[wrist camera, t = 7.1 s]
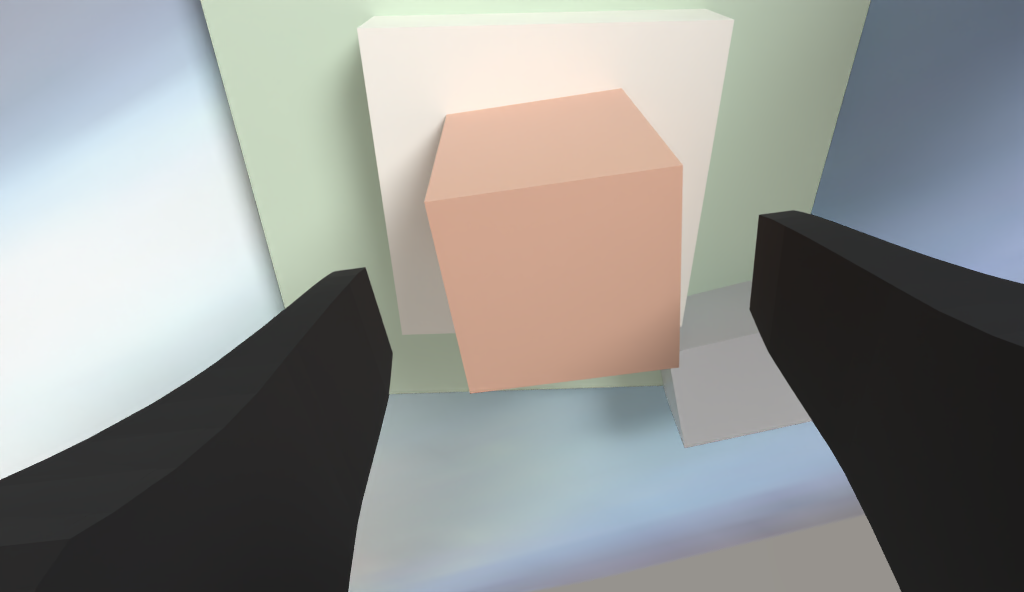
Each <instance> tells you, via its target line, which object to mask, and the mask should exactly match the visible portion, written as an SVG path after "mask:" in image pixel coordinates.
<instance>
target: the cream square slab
mask: <svg viewBox="0 0 1024 592" xmlns="http://www.w3.org/2000/svg"><path fill="white" fill-rule="evenodd" d="M733 25H734V19H731V18H729V17H726V16H723V15H721V14H718V13H716V12H713V11H710V10H708V9H667V10H623V11H579V12H534V13H490V14H446V15H402V16H373V17H372V18H370V19H369V20H368V21H366V22H365V23H364V24H362V25H361V26H359V27H358V28H357V33H358V39H359V46H360V53H361V60H362V66H363V73H364V80H365V87H366V93H367V100H368V107H369V114H370V120H371V127H372V134H373V141H374V148H375V154H376V161H377V168H378V175H379V181H380V188H381V195H382V202H383V208H384V215H385V222H386V229H387V235H388V242H389V249H390V256H391V263H392V269H393V276H394V283H395V290H396V296H397V303H398V310H399V317H400V323H401V330H402V335H412V334H446V333H455V329H454V324H453V320H452V316H451V312H450V308H449V304H448V299H447V295H446V291H445V287H444V283H443V279H442V275H441V270H440V266H439V262H438V258H437V254H436V250H435V245H434V241H433V237H432V233H431V229H430V225H429V220H428V216H427V212H426V208H425V204H424V201H425V197H426V193H427V189H428V185H429V181H430V177H431V173H432V169H433V166H434V162H435V158H436V154H437V150H438V146H439V142H440V138H441V134H442V130H443V126H444V123H445V119H446V115H448V114H454V113H461V112H468V111H474V110H481V109H487V108H494V107H501V106H507V105H514V104H520V103H527V102H534V101H540V100H547V99H554V98H560V97H567V96H573V95H580V94H587V93H593V92H600V91H606V90H613V89H620V88H622V89H623V90H624V92H625V93H626V94H627V95H628V97H629V98H630V99H631V100H632V102H633V103H634V104H635V106H636V107H637V108H638V109H639V111H640V112H641V113H642V114H643V116H644V117H645V118H646V119H647V121H648V122H649V123H650V124H651V126H652V127H653V128H654V129H655V131H656V132H657V133H658V134H659V136H660V137H661V138H662V139H663V141H664V142H665V143H666V145H667V146H668V147H669V148H670V150H671V151H672V152H673V153H674V155H675V156H676V157H677V158H678V160H679V161H680V162H681V163H682V165H683V187H682V242H681V296H680V327H682V322H683V316H684V311H685V305H686V299H687V293H688V287H689V281H690V276H691V270H692V264H693V258H694V252H695V246H696V241H697V235H698V229H699V223H700V217H701V211H702V206H703V200H704V194H705V188H706V182H707V176H708V171H709V165H710V159H711V153H712V147H713V141H714V136H715V130H716V124H717V118H718V112H719V106H720V101H721V95H722V89H723V83H724V77H725V71H726V66H727V60H728V54H729V48H730V42H731V36H732V31H733Z"/></svg>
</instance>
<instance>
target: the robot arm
mask: <svg viewBox="0 0 1024 592" xmlns="http://www.w3.org/2000/svg"><path fill="white" fill-rule="evenodd" d="M749 310H750V312H751V314H752V317H753V319H754V321H755V324H756V326H757V329H758V331H759V333H760V335H761V338H762V340H763V342H764V344H765V346H766V348H767V350H768V353H769V354H770V356H771V357H772V359H773V361H774V362H775V364H776V366H777V367H778V369H779V370H780V372H781V373H782V375H783V377H784V378H785V380H786V381H787V383H788V384H789V386H790V388H791V389H792V391H793V392H794V394H795V395H796V397H797V398H798V400H799V401H800V403H801V404H802V406H803V407H804V409H805V411H806V412H807V414H808V415H809V417H810V418H811V420H812V421H813V423H814V424H815V426H816V427H817V429H818V430H819V432H820V434H821V435H822V437H823V438H824V440H825V441H826V443H827V444H828V446H829V447H830V449H831V451H832V452H833V454H834V456H835V457H836V459H837V461H838V463H839V464H840V466H841V468H842V469H843V471H844V473H845V475H846V477H847V479H848V481H849V483H850V485H851V487H852V489H853V491H854V493H855V495H856V497H857V499H858V501H859V503H860V505H861V507H862V509H863V511H864V513H865V515H866V517H867V519H868V520H869V523H870V525H871V527H872V529H873V531H874V533H875V535H876V538H877V540H878V542H879V544H880V546H881V548H882V550H883V552H884V555H885V557H886V559H887V561H888V563H889V565H890V567H891V570H892V572H893V574H894V576H895V578H896V580H897V583H898V585H899V587H900V590H901V592H1024V284H1021V283H1017V282H1013V281H1009V280H1005V279H1001V278H998V277H994V276H991V275H987V274H984V273H980V272H977V271H973V270H970V269H967V268H964V267H961V266H957V265H954V264H951V263H948V262H945V261H942V260H938V259H935V258H932V257H929V256H926V255H923V254H920V253H917V252H915V251H912V250H909V249H906V248H903V247H900V246H897V245H895V244H892V243H889V242H886V241H884V240H881V239H878V238H876V237H873V236H870V235H867V234H865V233H862V232H859V231H857V230H854V229H851V228H849V227H846V226H843V225H840V224H838V223H835V222H832V221H829V220H826V219H824V218H821V217H818V216H814V215H811V214H808V213H804V212H800V211H796V210H791V211H783V212H776V213H768V214H761V215H759V218H758V228H757V238H756V248H755V258H754V268H753V278H752V288H751V297H750V307H749ZM392 359H393V352H392V349H391V346H390V343H389V339H388V336H387V333H386V330H385V327H384V324H383V321H382V317H381V314H380V311H379V308H378V305H377V302H376V298H375V295H374V292H373V289H372V286H371V283H370V280H369V276H368V273H367V270H366V267H362V268H355V269H347V270H340V271H334V272H332V273H330V274H329V275H327V276H326V277H324V278H323V279H321V280H320V281H319V282H317V283H316V284H315V285H314V286H312V287H311V288H310V289H309V290H307V291H306V292H305V293H304V294H302V295H301V296H300V297H299V298H298V299H296V300H295V301H294V302H293V303H292V304H290V305H289V306H288V307H287V308H285V309H284V310H283V311H282V312H281V313H279V314H278V315H277V316H276V317H274V318H273V319H272V320H271V321H270V322H268V323H267V324H266V325H265V326H263V327H262V328H261V329H260V330H258V331H257V332H256V333H254V334H253V335H252V336H250V337H249V338H248V339H246V340H245V341H244V342H242V343H241V344H240V345H238V346H237V347H236V348H235V349H233V350H232V351H231V352H229V353H228V354H227V355H225V356H224V357H223V358H221V359H220V360H219V361H217V362H216V363H214V364H213V365H212V366H210V367H209V368H207V369H206V370H204V371H203V372H201V373H200V374H198V375H197V376H195V377H194V378H192V379H191V380H189V381H188V382H186V383H185V384H183V385H181V386H180V387H178V388H177V389H175V390H174V391H172V392H170V393H169V394H167V395H166V396H164V397H162V398H161V399H159V400H157V401H156V402H154V403H152V404H151V405H149V406H147V407H145V408H143V409H142V410H140V411H138V412H136V413H134V414H132V415H131V416H129V417H127V418H125V419H123V420H121V421H120V422H118V423H116V424H114V425H112V426H110V427H109V428H107V429H105V430H103V431H101V432H99V433H98V434H96V435H94V436H92V437H90V438H88V439H86V440H84V441H82V442H80V443H78V444H76V445H74V446H72V447H70V448H68V449H66V450H64V451H62V452H60V453H58V454H56V455H54V456H52V457H50V458H47V459H45V460H43V461H41V462H39V463H37V464H34V465H32V466H30V467H28V468H26V469H23V470H21V471H19V472H17V473H14V474H12V475H10V476H8V477H6V478H3V479H1V480H0V592H348V588H349V580H350V573H351V566H352V559H353V552H354V545H355V538H356V531H357V524H358V519H359V515H360V510H361V505H362V500H363V496H364V493H365V489H366V485H367V481H368V477H369V473H370V469H371V466H372V462H373V458H374V454H375V450H376V446H377V442H378V439H379V435H380V431H381V427H382V423H383V419H384V415H385V411H386V406H387V402H388V398H389V389H390V381H391V370H392Z"/></svg>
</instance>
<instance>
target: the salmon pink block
mask: <svg viewBox="0 0 1024 592" xmlns="http://www.w3.org/2000/svg"><path fill="white" fill-rule="evenodd" d="M682 187H683V165H682V163H681V162H680V161H679V160H678V158H677V157H676V156H675V155H674V153H673V152H672V151H671V150H670V148H669V147H668V146H667V145H666V143H665V142H664V141H663V139H662V138H661V137H660V136H659V134H658V133H657V132H656V131H655V129H654V128H653V127H652V126H651V124H650V123H649V122H648V121H647V119H646V118H645V117H644V116H643V114H642V113H641V112H640V111H639V109H638V108H637V107H636V106H635V104H634V103H633V102H632V100H631V99H630V98H629V97H628V95H627V94H626V93H625V92H624V90H623V89H622V88H620V89H613V90H606V91H600V92H593V93H587V94H580V95H573V96H567V97H560V98H554V99H547V100H540V101H534V102H527V103H520V104H514V105H507V106H501V107H494V108H487V109H481V110H474V111H468V112H461V113H454V114H448V115H446V119H445V123H444V126H443V130H442V134H441V138H440V142H439V146H438V150H437V154H436V158H435V162H434V166H433V169H432V173H431V177H430V181H429V185H428V189H427V193H426V197H425V201H424V204H425V208H426V212H427V216H428V220H429V225H430V229H431V233H432V237H433V241H434V245H435V250H436V254H437V258H438V262H439V266H440V270H441V275H442V279H443V283H444V287H445V291H446V295H447V299H448V304H449V308H450V312H451V316H452V320H453V324H454V329H455V333H456V337H457V341H458V345H459V349H460V354H461V358H462V362H463V366H464V370H465V374H466V378H467V383H468V387H469V391H470V394H471V393H479V392H487V391H495V390H503V389H511V388H519V387H527V386H535V385H543V384H551V383H559V382H567V381H575V380H583V379H591V378H599V377H607V376H615V375H623V374H631V373H639V372H647V371H655V370H663V369H671V368H679V351H680V296H681V242H682Z"/></svg>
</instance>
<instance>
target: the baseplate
mask: <svg viewBox="0 0 1024 592" xmlns="http://www.w3.org/2000/svg"><path fill="white" fill-rule="evenodd" d="M870 2H871V0H201V4H202V8H203V11H204V15H205V19H206V22H207V26H208V30H209V33H210V37H211V41H212V44H213V48H214V51H215V55H216V59H217V62H218V66H219V70H220V73H221V77H222V81H223V84H224V88H225V92H226V95H227V99H228V103H229V106H230V110H231V114H232V117H233V121H234V124H235V128H236V132H237V135H238V139H239V143H240V146H241V150H242V154H243V157H244V161H245V165H246V168H247V172H248V176H249V179H250V183H251V186H252V190H253V194H254V197H255V201H256V205H257V208H258V212H259V216H260V219H261V223H262V227H263V230H264V234H265V238H266V241H267V245H268V248H269V252H270V256H271V259H272V263H273V267H274V270H275V274H276V278H277V281H278V285H279V289H280V292H281V296H282V300H283V303H284V307H285V308H287V307H288V306H289V305H290V304H292V303H293V302H294V301H295V300H296V299H298V298H299V297H300V296H301V295H302V294H304V293H305V292H306V291H307V290H309V289H310V288H311V287H312V286H314V285H315V284H316V283H317V282H319V281H320V280H321V279H323V278H324V277H326V276H327V275H329V274H330V273H332V272H334V271H340V270H347V269H355V268H362V267H366V270H367V273H368V276H369V280H370V283H371V286H372V289H373V292H374V295H375V298H376V302H377V305H378V308H379V311H380V314H381V317H382V321H383V324H384V327H385V330H386V333H387V336H388V339H389V343H390V346H391V349H392V352H393V359H392V370H391V381H390V389H389V394H408V393H440V392H470V391H469V387H468V383H467V378H466V374H465V370H464V366H463V362H462V358H461V354H460V349H459V345H458V341H457V337H456V333H446V334H412V335H402V330H401V323H400V317H399V310H398V303H397V296H396V290H395V283H394V276H393V269H392V263H391V256H390V249H389V242H388V235H387V229H386V222H385V215H384V208H383V202H382V195H381V188H380V181H379V175H378V168H377V161H376V154H375V148H374V141H373V134H372V127H371V120H370V114H369V107H368V100H367V93H366V87H365V80H364V73H363V66H362V60H361V53H360V46H359V39H358V33H357V28H358V27H359V26H361V25H362V24H364V23H365V22H366V21H368V20H369V19H370V18H372V17H373V16H402V15H446V14H490V13H534V12H579V11H623V10H667V9H708V10H710V11H713V12H716V13H718V14H721V15H723V16H726V17H729V18H731V19H734V25H733V31H732V36H731V42H730V48H729V54H728V60H727V66H726V71H725V77H724V83H723V89H722V95H721V101H720V106H719V112H718V118H717V124H716V130H715V136H714V141H713V147H712V153H711V159H710V165H709V171H708V176H707V182H706V188H705V194H704V200H703V206H702V211H701V217H700V223H699V229H698V235H697V241H696V246H695V252H694V258H693V264H692V270H691V276H690V281H689V287H688V293H687V296H689V295H694V294H698V293H702V292H706V291H710V290H714V289H718V288H722V287H726V286H730V285H734V284H738V283H742V282H746V281H750V280H752V278H753V268H754V258H755V248H756V238H757V228H758V218H759V215H761V214H768V213H776V212H783V211H791V210H796V211H800V212H804V213H808V214H811V211H812V207H813V204H814V200H815V197H816V193H817V190H818V186H819V183H820V179H821V175H822V172H823V168H824V165H825V161H826V158H827V154H828V151H829V147H830V144H831V140H832V136H833V133H834V129H835V126H836V122H837V119H838V115H839V112H840V108H841V104H842V101H843V97H844V94H845V90H846V87H847V83H848V80H849V76H850V73H851V69H852V65H853V62H854V58H855V55H856V51H857V48H858V44H859V41H860V37H861V34H862V30H863V26H864V23H865V19H866V16H867V12H868V9H869V5H870ZM635 386H664V385H663V380H662V375H661V370H655V371H647V372H639V373H631V374H623V375H615V376H607V377H599V378H591V379H583V380H575V381H567V382H559V383H551V384H543V385H535V386H527V387H519V388H511V389H503V390H495V391H505V390H538V389H570V388H603V387H635Z"/></svg>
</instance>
